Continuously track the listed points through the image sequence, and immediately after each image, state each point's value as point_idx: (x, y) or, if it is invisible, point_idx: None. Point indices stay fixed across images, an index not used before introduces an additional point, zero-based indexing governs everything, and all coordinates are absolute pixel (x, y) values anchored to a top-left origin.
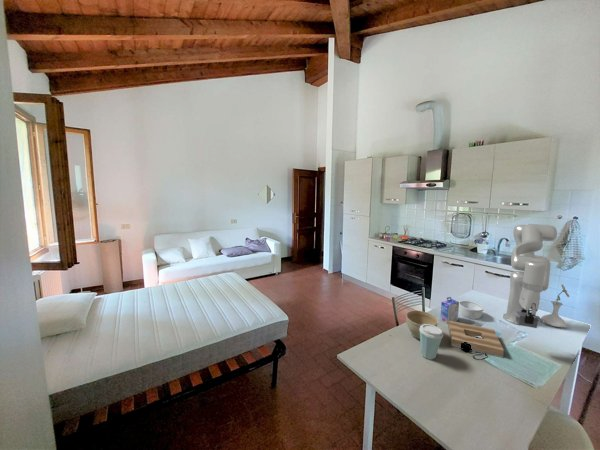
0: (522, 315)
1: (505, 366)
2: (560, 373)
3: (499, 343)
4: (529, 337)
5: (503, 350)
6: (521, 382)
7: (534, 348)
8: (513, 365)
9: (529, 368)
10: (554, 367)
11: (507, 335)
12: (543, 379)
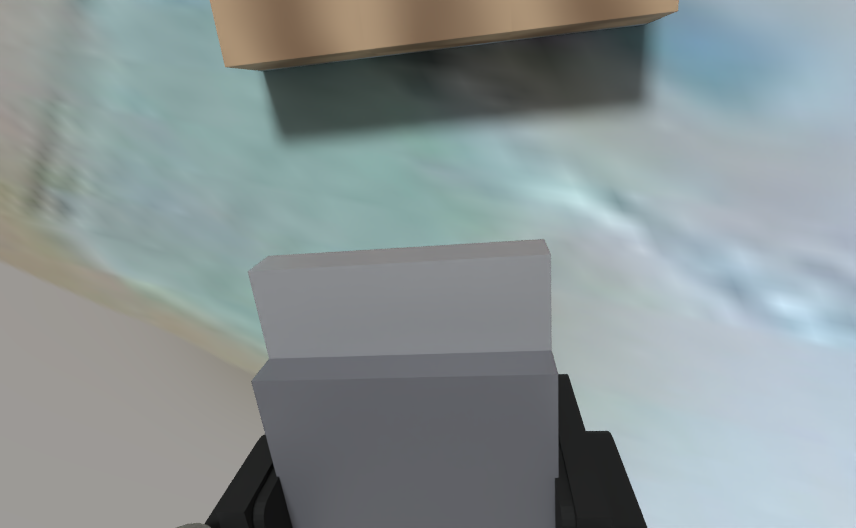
0: (305, 432)
1: (144, 75)
2: None
3: (343, 39)
4: (754, 343)
5: (226, 63)
6: (26, 152)
7: (564, 332)
8: (202, 136)
9: (238, 236)
10: None
11: (722, 171)
12: (165, 286)
